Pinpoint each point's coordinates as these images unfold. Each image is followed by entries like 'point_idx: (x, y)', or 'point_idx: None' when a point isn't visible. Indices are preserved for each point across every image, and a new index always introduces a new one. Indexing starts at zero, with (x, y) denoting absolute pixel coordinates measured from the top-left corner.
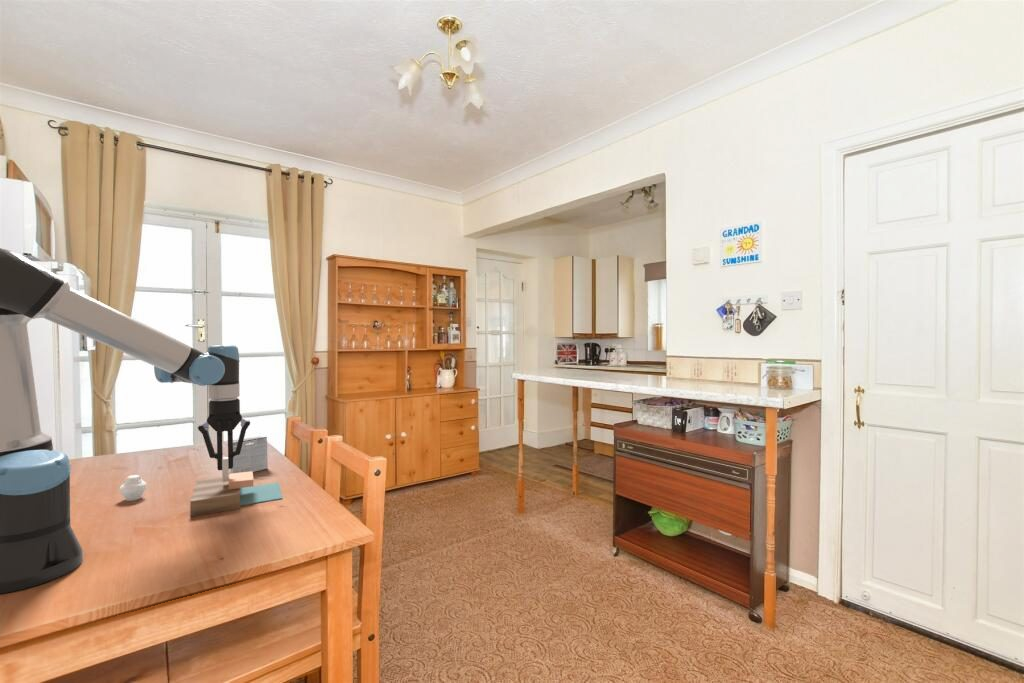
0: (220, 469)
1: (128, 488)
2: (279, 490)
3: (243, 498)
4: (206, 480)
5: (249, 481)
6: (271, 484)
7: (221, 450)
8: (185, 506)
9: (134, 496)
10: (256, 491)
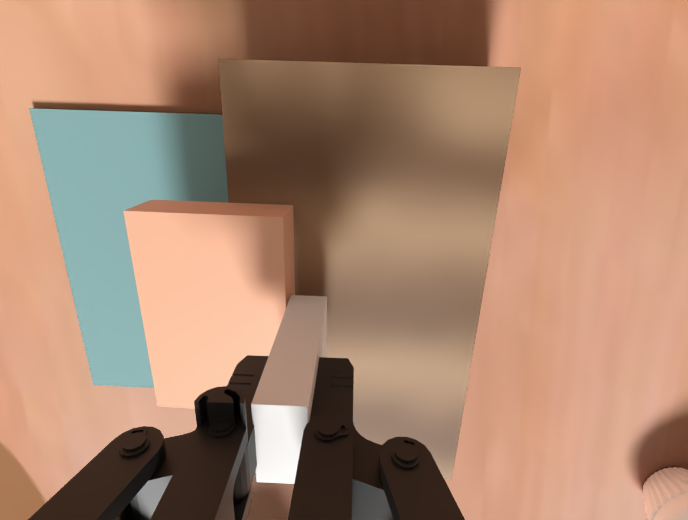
0: (332, 361)
1: None
2: (68, 253)
3: None
4: None
5: (154, 208)
6: (123, 368)
7: (299, 502)
8: (496, 269)
9: (684, 476)
10: None
